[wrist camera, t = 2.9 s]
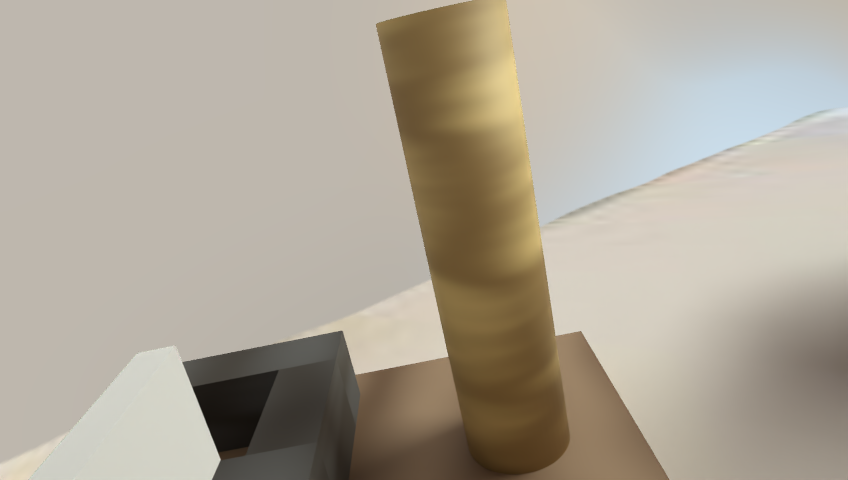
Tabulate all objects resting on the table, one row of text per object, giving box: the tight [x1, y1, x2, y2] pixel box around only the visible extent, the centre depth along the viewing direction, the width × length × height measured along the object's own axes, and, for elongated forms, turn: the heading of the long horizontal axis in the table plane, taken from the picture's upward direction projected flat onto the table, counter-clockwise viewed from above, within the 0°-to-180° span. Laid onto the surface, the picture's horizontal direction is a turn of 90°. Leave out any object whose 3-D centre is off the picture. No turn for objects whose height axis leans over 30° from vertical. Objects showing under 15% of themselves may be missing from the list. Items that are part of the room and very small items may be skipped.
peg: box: [376, 0, 570, 474], centre depth 20 cm, size 4×4×16 cm
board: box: [182, 331, 669, 480], centre depth 23 cm, size 22×14×5 cm, turn 92°
